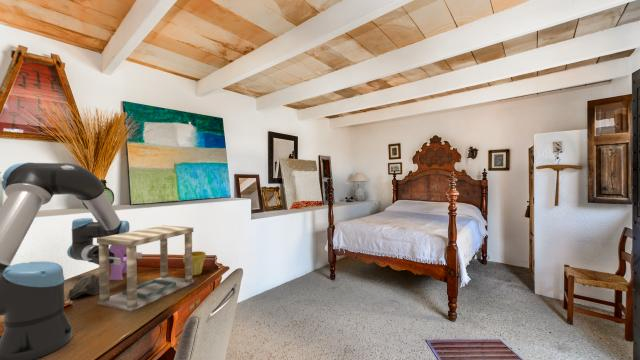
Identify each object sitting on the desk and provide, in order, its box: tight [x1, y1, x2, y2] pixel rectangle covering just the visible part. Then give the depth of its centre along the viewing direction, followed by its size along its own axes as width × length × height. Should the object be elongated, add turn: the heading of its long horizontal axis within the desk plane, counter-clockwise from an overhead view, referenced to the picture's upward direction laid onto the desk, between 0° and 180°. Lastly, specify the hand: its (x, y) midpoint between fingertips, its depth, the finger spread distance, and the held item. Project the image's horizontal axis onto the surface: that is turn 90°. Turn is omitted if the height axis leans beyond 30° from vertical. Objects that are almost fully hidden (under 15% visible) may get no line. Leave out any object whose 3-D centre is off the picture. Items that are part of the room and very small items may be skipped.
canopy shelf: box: [96, 225, 195, 312], centre depth 115 cm, size 29×18×25 cm, turn 160°
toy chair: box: [109, 245, 127, 281], centre depth 120 cm, size 8×9×15 cm
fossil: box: [67, 273, 100, 300], centre depth 114 cm, size 11×9×10 cm
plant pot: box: [182, 250, 207, 276], centre depth 137 cm, size 10×10×10 cm
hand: (130, 258), depth 119 cm, fingers closed on toy chair, 8 cm apart
